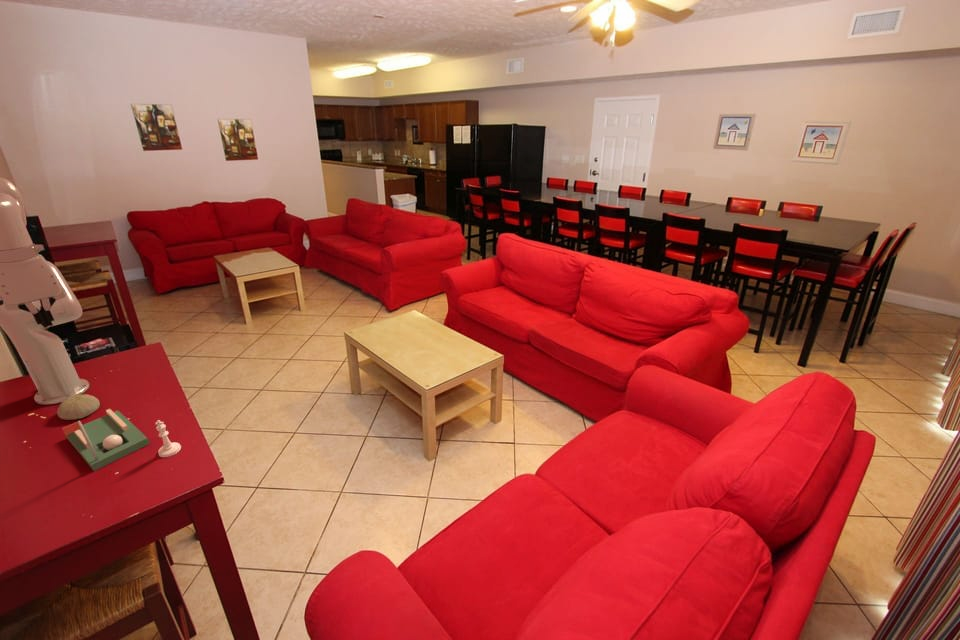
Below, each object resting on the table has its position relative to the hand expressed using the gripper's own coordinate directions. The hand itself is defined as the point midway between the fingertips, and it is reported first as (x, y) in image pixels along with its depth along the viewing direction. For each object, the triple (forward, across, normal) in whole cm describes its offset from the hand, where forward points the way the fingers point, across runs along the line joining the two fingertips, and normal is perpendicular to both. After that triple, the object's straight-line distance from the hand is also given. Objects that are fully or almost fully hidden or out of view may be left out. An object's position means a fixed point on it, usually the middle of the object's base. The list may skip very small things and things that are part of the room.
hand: (47, 325), depth 105 cm
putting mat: (+32, 0, +10) cm, 34 cm away
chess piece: (+32, -8, +27) cm, 43 cm away
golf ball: (+30, 0, +15) cm, 33 cm away
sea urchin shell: (+32, 0, -11) cm, 34 cm away
